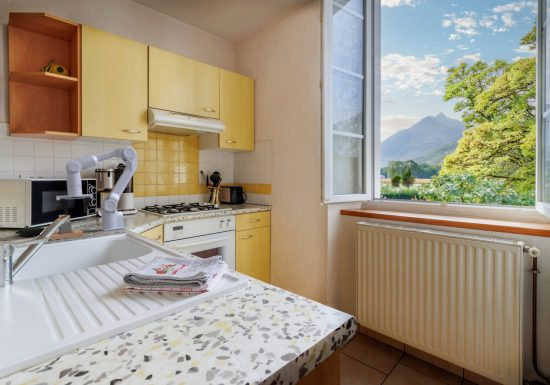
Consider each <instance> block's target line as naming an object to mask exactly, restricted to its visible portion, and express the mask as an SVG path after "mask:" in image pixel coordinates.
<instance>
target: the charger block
mask: <svg viewBox="0 0 550 385" xmlns="http://www.w3.org/2000/svg"><path fill="white" fill-rule="evenodd" d="M67 221H68V222H66V223H64V224H62V225H61V226H60V227H59V226H58V231H59V234H66V233H72V230H73V229H72V221H71V220H67Z"/></svg>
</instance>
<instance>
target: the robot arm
mask: <svg viewBox="0 0 550 385" xmlns="http://www.w3.org/2000/svg"><path fill="white" fill-rule="evenodd" d="M112 158H116V159H122V160H123V162H124V165H125V169H124V170H123V172H122V174H120V176H119V179H118V180H117V181H116V184H115V185H114V187H113V188H112V190H111V191H110V193H109V194H108V195H107V196H106V197H105V199H103V200H101V203H100V207H101V209H102V211H101V226H102V227H100V228H99V230H100V231H104V232H107V231H115V230H123V229H125V227H124V225H125V224H124V215H123V214H124V213H123V212H122V211H121V210H120V211H118V203H119V201H120V198H121V196H122V194H123V192H124V191H125V189H126V187H127V185H128V184H129V182H130V181H131V179H132V177H133V176H134V174H135V173H136V171H137V169H138V154H137V152H136V150H135V148H133V147H132V146H125V147H120V148H115V149H112V150H110V151H107V152H104V153H100V154H98V155H92V154H85V156H83V157H80V158H75V159H74V160H72V159H71V160H70V161H68V162H67V163H66V164H65V168H64V169H65V170H66V188H67V189H66V190H67V195H66V194H64V195H56V196H55V198H56V201H58V202H59V203H60V205H61V207H62V209H63V211H64V213H65V214H64V215H65V216H68V215H69V210H68V200H76V199H78V200H81V199H82V202H83V213H84V214H88V209H89V205H90V203H91V200H92V199H93V198H94V195H93V193H88V194H83V190H82V189H83V188H82V176H81V170H82V171H84V170H88V169H90V168H93V167H96V166H97V165H98V164H99V162H103V161H106V160H110V159H112Z"/></svg>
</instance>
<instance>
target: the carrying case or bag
mask: <svg viewBox="0 0 550 385" xmlns="http://www.w3.org/2000/svg"><path fill="white" fill-rule="evenodd" d="M44 229H46V228H45V227H40V226H33V227H25V228H19V229H18V230H17V231H15V235H20V236H22V237H25V238H30V237H37V236H38V235H39V234H40V233H41V232H42V231H43V230H44ZM39 236H40V235H39ZM39 236H38V237H39Z"/></svg>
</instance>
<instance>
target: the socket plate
mask: <svg viewBox="0 0 550 385" xmlns="http://www.w3.org/2000/svg"><path fill="white" fill-rule="evenodd" d="M53 232H54V234H53V235H52V236H51V239H60V240H64V239H63V238H67V239H74V238H79V237H84V236H85V234H84V233H85V232H84V231H83V230H80V229H77V228H75V229H72V233H66V234H59V230H57V231H53Z"/></svg>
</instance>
